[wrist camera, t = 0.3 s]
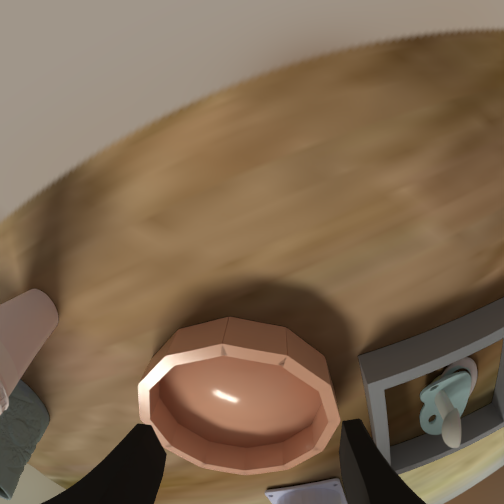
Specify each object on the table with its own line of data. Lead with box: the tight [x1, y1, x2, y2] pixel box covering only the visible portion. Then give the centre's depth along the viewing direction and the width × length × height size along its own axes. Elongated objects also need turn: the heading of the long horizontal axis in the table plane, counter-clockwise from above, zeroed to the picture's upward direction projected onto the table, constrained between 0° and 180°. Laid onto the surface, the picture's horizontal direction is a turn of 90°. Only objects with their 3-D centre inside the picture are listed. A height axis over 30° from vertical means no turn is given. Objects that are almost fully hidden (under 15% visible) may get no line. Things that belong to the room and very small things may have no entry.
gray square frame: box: [358, 297, 504, 474], centre depth 20 cm, size 14×14×3 cm
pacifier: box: [419, 357, 477, 448], centre depth 18 cm, size 7×6×6 cm
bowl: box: [138, 316, 341, 475], centre depth 21 cm, size 14×14×3 cm
